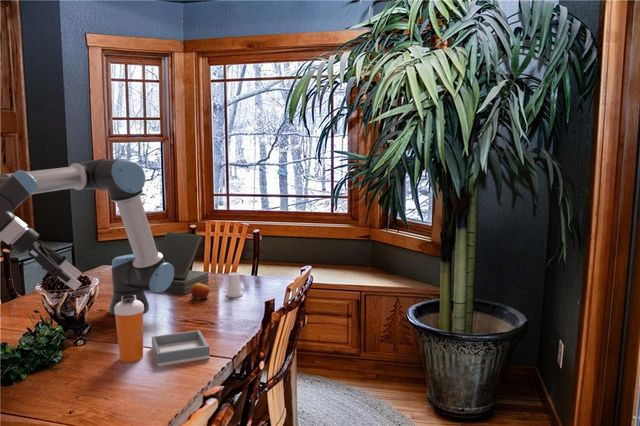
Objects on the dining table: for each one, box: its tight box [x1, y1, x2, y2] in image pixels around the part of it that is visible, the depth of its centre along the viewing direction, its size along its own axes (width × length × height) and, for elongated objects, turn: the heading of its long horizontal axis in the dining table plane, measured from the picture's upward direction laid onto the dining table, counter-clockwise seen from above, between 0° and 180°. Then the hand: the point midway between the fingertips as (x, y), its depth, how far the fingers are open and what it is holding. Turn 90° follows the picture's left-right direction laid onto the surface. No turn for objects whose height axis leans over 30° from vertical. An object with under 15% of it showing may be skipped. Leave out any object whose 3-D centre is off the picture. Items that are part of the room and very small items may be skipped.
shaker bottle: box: [114, 295, 144, 363], centre depth 170 cm, size 9×9×20 cm
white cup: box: [225, 272, 244, 299], centre depth 240 cm, size 8×8×10 cm
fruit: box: [190, 283, 211, 302], centre depth 235 cm, size 8×8×8 cm
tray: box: [151, 329, 211, 367], centre depth 175 cm, size 16×16×4 cm
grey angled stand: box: [158, 231, 210, 296], centre depth 252 cm, size 23×20×25 cm
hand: (78, 281), depth 163 cm, fingers open, 13 cm apart
